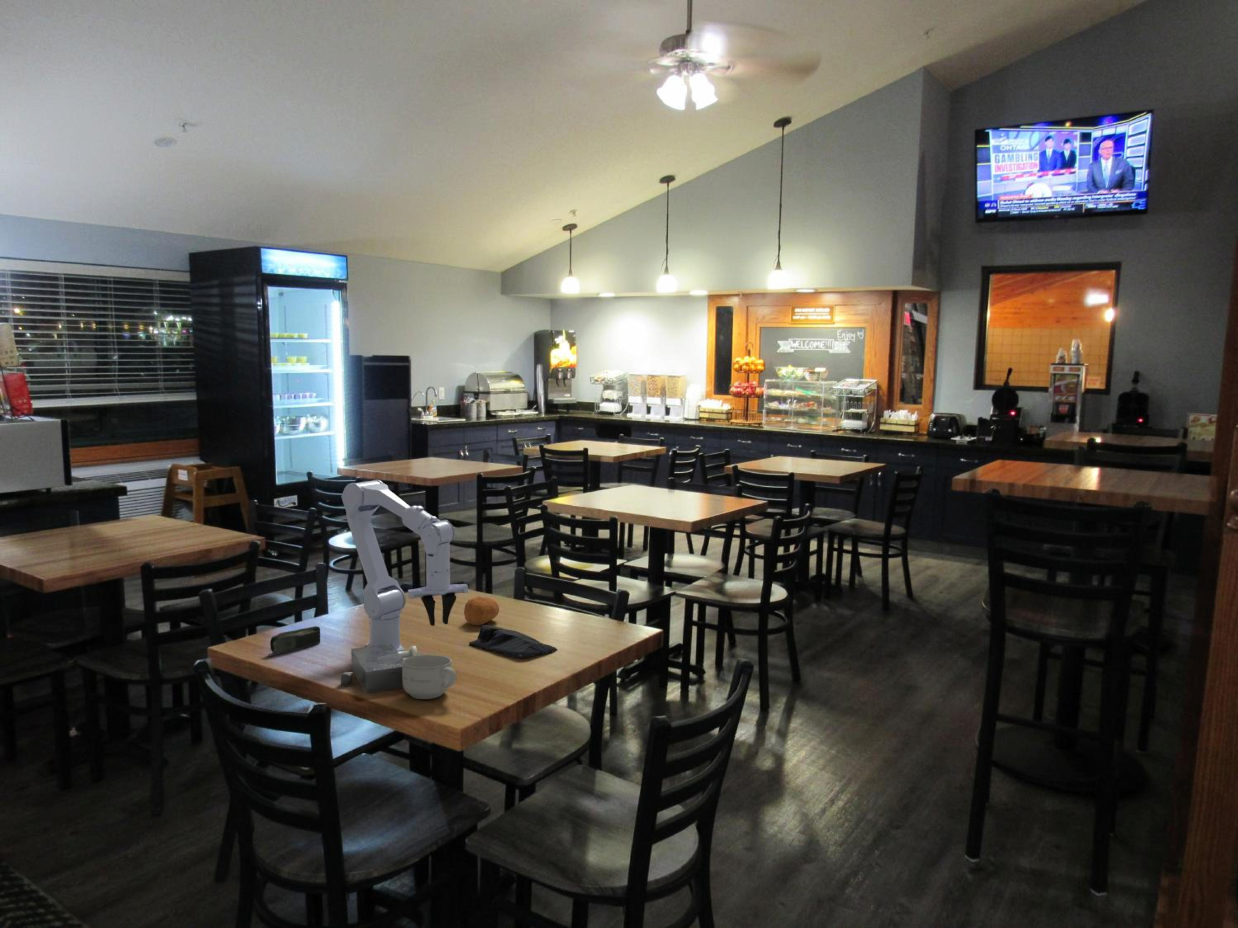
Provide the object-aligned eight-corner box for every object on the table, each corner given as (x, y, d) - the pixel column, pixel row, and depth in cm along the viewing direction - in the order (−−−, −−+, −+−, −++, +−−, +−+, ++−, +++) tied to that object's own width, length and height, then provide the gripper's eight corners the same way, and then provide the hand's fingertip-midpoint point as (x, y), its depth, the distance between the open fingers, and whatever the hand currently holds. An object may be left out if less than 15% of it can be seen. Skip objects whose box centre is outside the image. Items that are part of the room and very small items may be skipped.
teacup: (393, 694, 189) (392, 659, 188) (435, 682, 196) (434, 648, 195) (426, 712, 179) (426, 675, 178) (469, 698, 186) (469, 663, 185)
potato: (455, 623, 243) (455, 598, 242) (484, 615, 252) (483, 590, 251) (478, 629, 237) (478, 603, 236) (506, 620, 246) (506, 595, 245)
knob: (380, 663, 206) (380, 648, 206) (413, 659, 210) (413, 643, 210) (383, 669, 203) (383, 652, 202) (417, 664, 206) (417, 648, 206)
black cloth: (515, 665, 209) (515, 647, 209) (464, 645, 225) (464, 627, 224) (562, 652, 220) (562, 634, 219) (510, 633, 236) (510, 616, 235)
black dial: (339, 682, 195) (339, 672, 195) (352, 681, 196) (352, 670, 196) (341, 686, 193) (341, 675, 192) (354, 685, 194) (354, 674, 194)
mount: (351, 668, 205) (351, 648, 204) (391, 662, 209) (391, 643, 208) (366, 693, 189) (366, 671, 188) (409, 686, 193) (408, 665, 193)
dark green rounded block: (315, 624, 225) (263, 636, 213) (322, 626, 223) (270, 638, 211) (315, 642, 226) (263, 655, 213) (322, 644, 224) (270, 657, 212)
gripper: (412, 576, 202) (413, 631, 203) (471, 570, 208) (471, 624, 210) (405, 570, 208) (406, 624, 209) (463, 564, 215) (463, 617, 216)
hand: (438, 623), depth 210 cm, fingers open, 3 cm apart
